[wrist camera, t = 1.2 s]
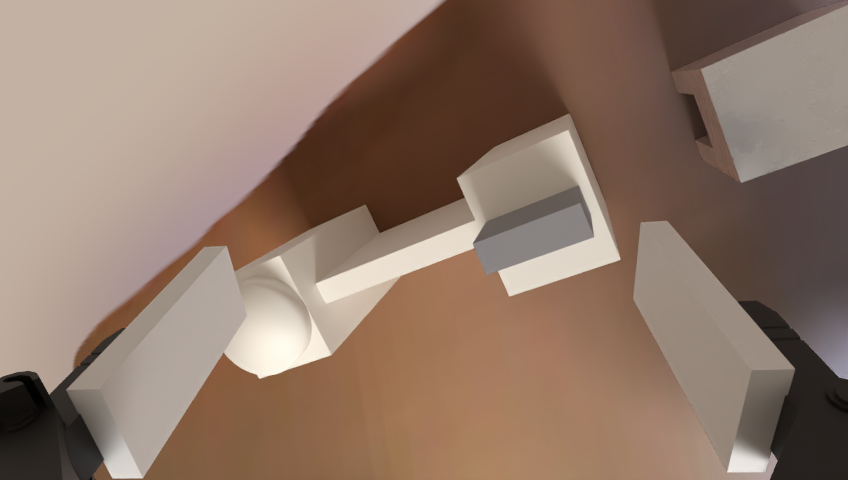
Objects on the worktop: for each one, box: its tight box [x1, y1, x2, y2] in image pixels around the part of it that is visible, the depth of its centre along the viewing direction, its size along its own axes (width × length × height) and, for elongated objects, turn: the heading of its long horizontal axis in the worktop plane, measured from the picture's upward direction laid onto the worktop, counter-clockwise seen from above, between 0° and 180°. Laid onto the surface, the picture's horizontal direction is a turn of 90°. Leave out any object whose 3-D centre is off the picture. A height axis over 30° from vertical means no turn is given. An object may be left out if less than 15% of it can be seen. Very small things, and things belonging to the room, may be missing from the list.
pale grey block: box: [671, 0, 848, 183], centre depth 30 cm, size 8×6×9 cm
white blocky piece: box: [224, 113, 621, 379], centre depth 34 cm, size 24×7×18 cm, turn 116°
